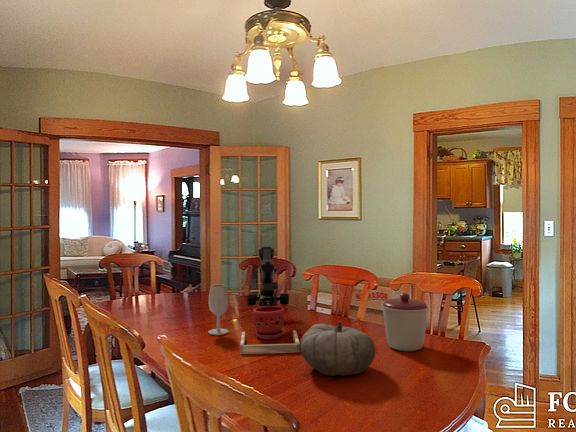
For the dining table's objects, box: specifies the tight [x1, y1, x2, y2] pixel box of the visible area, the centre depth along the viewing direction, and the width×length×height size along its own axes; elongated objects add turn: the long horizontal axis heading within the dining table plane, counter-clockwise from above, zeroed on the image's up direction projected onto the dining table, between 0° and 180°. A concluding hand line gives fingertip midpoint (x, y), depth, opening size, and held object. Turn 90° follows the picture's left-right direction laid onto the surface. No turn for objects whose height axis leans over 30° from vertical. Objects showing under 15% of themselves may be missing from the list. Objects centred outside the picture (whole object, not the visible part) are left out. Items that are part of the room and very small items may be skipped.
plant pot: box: [252, 305, 285, 340], centre depth 187 cm, size 13×13×12 cm
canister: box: [380, 292, 430, 352], centre depth 171 cm, size 18×18×21 cm
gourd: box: [300, 320, 376, 377], centre depth 148 cm, size 25×25×17 cm
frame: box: [239, 330, 301, 355], centre depth 175 cm, size 19×22×3 cm
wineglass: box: [207, 283, 230, 336], centre depth 193 cm, size 9×9×21 cm
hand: (268, 315), depth 194 cm, fingers closed
